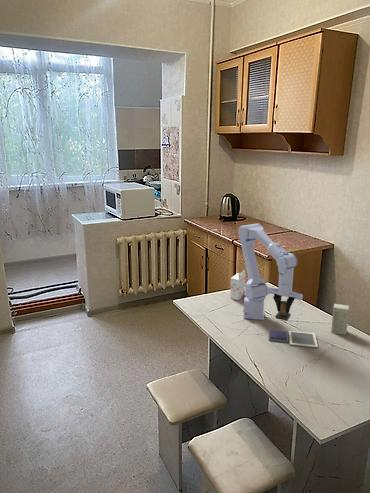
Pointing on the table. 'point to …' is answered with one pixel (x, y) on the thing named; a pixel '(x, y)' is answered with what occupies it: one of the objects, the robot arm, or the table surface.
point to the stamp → (283, 311)
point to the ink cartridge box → (238, 286)
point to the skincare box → (340, 319)
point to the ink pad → (278, 336)
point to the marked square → (302, 339)
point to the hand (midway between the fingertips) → (283, 311)
